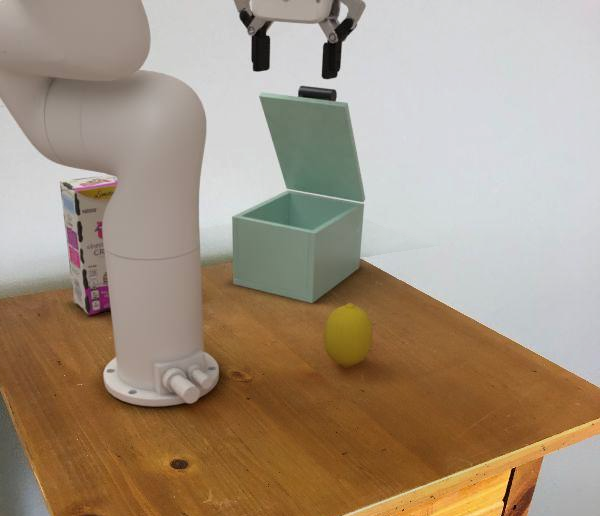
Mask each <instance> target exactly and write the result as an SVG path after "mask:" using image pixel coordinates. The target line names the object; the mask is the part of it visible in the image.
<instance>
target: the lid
mask: <svg viewBox="0 0 600 516" xmlns="http://www.w3.org/2000/svg"><path fill="white" fill-rule="evenodd" d="M258 97H259V101H260V104H261V108H262V111H263V114H264V118H265V121H266V125H267V127H268V131H269V135H270V138H271V141H272V145H273V147H274V151H275V154H276V157H277V161H278V165H279V168H280V172H281V175H282V178H283V181H284V185H285V188H286V190H290V191H295V192H301V193H307V194H312V195H318V196H323V197H329V198H335V199H340V200H346V201H352V202H357V203H364V202H365V200H366V195H365V189H364V184H363V179H362V174H361V168H360V167H361V166H360V163H359V156H358V151H357V146H356V140H355V134H354V130H353V125H352V119H351V113H350V108H349V103H348V102H343V101H337V98H338V92H337V90H336V89H334V88H326V87H318V86H308V85H300V86H299V88H298V91H297V96H294V95H286V94H278V93H271V92H264V91H263V92H260V94H259V95H258Z"/></svg>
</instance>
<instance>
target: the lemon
mask: <svg viewBox="0 0 600 516" xmlns="http://www.w3.org/2000/svg"><path fill="white" fill-rule="evenodd" d="M372 344H373V325H372V321H371V318H370V317H369V315H368V313H367V312H366V311H365V310H363V308H361V307H359V306H357V305H354V303H352V302H348V303H346V304H345V305H341V306H339V307H337V308H335V309H334V310H333V311H332V312H331V313H330V314H329V316H328V318H327V320H326V323H325V325H324V330H323V345H324V349H325V352H326V354H327V356H328V357H329V358H330V359H331V360H332V361H333V362H335V363H337V364H338V365H341V366H342V367H343V368H345V369H348V368H349V367H351V366H354V365H357V364H360V362H362V361H363V360H365V358H366V357H367V356H368V354H369V352H370V351H371V348H372Z"/></svg>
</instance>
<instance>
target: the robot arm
mask: <svg viewBox="0 0 600 516" xmlns="http://www.w3.org/2000/svg"><path fill="white" fill-rule="evenodd" d="M233 2H234V5H235V7H236V10H237V12H238V17H239V20H240V21H241V23H242V25H243V26H244V27H245V28H246V33H247V34H248V36H250V38H251V41H250V43H251V44H250V46H251V48H250V49H251V50H250V51H251V54H250V55H251V56H250V57H251V58H250V59H251V63H252V71H253V72H255V73H258V72H259V73H260V72H266V71H268V70H270V67H271V61H270V60H271V37H270V35H267V32H268V31H269V30H270V28H271V27H272V25H273V24H274V22H280V23H291V24H305V25H309V24H310V25H315V24H318V26H319V27H320V29H321V30H322V32H323V34H324V35H325V38H326V39H327V41H326V42H324V43H323V45H322V59H321V78H322V79H323V80H331V79H337V78H338V76H339V75H338V74H339V72H340V70H341V66H342V65H341V64H342V51H343V42H345V41H346V40H347V38H348V37H349V36H350V35H351V34H352V33H353V31H355V29H357V26H358V22H359V21H360V19H361V17H362V15H363V13H364V11H365V9H366V7H367V5H366V2H365V1H364V0H233ZM250 2H251V4H250ZM341 4H343V5H345V6H346V7H347V13H346V16H345V18H344V19H343V20H342V21H341V22H340V21H339V17H340V13H341ZM151 38H152V37H151V28H150V23H149V19H148V16H147V12H146V9H145V6H144V4H143V1H142V0H0V100H1V102H2V103H3V105H4V106H5V108H6V109H7V111H8V112H9V113H10V115H11V116H12V118H13V120H14V121H15V122H16V124H17V125H18V127H19V128H20V131H22V133H23V134H24V136H25V138H26V139H27V140H28V141H29V143H30V144H31V145H32V146H33V147H34V149H36V150H37V152H39V153H40V154H41V155H42V156H43V157H44V158H45V159H47V160H49V161H51V162H53V163H55V164H57V165H61V166H64V167H68V168H73V169H77V170H83V171H89V172H94V173H99V174H100V173H101V174H105V175H113V176H116V177H117V180H118V181H117V186H116V189H115V191H114V193H113V195H112V197H111V199H110V201H109V203H108V205H107V207H106V209H105V212H104V215H103V221H102V235H103V245H104V250H105V261H106V270H107V279H108V288H109V297H110V307H111V310H110V315H111V324H112V332H113V333H112V334H113V343H114V352H115V357H114V358H112V359H111V360H110V361H109V362H108V363H107V364H106V365H105V367H104V370H103V374H102V375H103V376H102V377H103V384H104V387H105V389H106V390H107V392H108V393H109V394H110V395H111V396H113V397H114V398H116V399H118V400H120V401H122V402H125V403H128V404H131V405H135V406H140V407H152V408H153V407H154V408H156V407H171V406H177V405H182V404H189V405H190V404H194V403H196V402H197V401H199V400H198V399H200V398H202V397H203V396H205V395H207V394H208V393H210V392H211V391H212V390H213V389H214V388H215V387H216V386H217V384H218V382H219V379H220V367H219V363H218V362H217V360H216V359H215V358H214V357H213V356H212V355H210V354H209V353H208V352H206V351H205V336H204V335H205V334H204V309H203V308H204V307H203V306H204V305H203V283H202V258H201V256H202V255H201V233H200V232H201V231H200V189H201V175H202V170H203V169H202V168H203V162H204V155H205V148H206V142H207V141H206V140H207V116H206V111H205V107H204V104H203V102H202V100H201V99H200V97H199V95H198V94H197V93H196V91H195V90H194V89H193V88H192V87H191V86H189V84H187V83H186V82H184V81H182V80H181V79H180V78H177V77H175V76H172V75H170V74H166V73H163V72H159V71H155V70H154V71H153V70H145V69H141V68H142V67H143V66H144V65H145V62H146V61H147V59H148V57H149V54H150V50H151Z"/></svg>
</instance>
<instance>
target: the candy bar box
mask: <svg viewBox="0 0 600 516" xmlns="http://www.w3.org/2000/svg"><path fill="white" fill-rule="evenodd" d="M117 181H118V180H117V177H116V176H113V175H108V174H105V175H98V176H91V177H83V178H75V179H66V180H59V187H60V197H61V202H62V203H61V204H62V211H63V212H62V213H63V220H64V222H63V223H64V228H65V238H66V244H67V255H68V263H69V270H70V271H69V272H70V280H71V281H70V282H71V287H72V289H71V290H72V297H73V303H74V305H75V306H77V307H78V308H79V309H80V310H82V312H84V313H85V314H86V315H87V316H91V315H97V314H99V313H104V312H109V311H111V307H110V297H109V288H108V279H107V270H106V261H105V250H104V245H103V235H102V221H103V215H104V212H105V209H106V207H107V205H108V203H109V201H110V199H111V197H112V195H113V193H114V191H115V189H116V186H117Z"/></svg>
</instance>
